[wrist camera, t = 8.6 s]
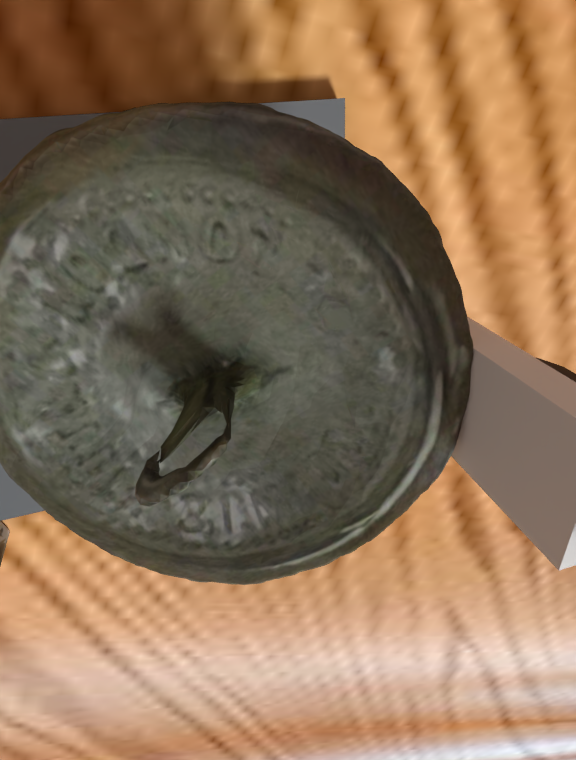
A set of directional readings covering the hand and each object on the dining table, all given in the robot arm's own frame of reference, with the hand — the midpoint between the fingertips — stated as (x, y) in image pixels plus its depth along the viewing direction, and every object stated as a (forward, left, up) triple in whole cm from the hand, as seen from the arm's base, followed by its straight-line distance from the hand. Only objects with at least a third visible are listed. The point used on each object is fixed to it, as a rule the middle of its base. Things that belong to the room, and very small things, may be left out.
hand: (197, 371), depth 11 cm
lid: (0, 0, 0) cm, 1 cm away
